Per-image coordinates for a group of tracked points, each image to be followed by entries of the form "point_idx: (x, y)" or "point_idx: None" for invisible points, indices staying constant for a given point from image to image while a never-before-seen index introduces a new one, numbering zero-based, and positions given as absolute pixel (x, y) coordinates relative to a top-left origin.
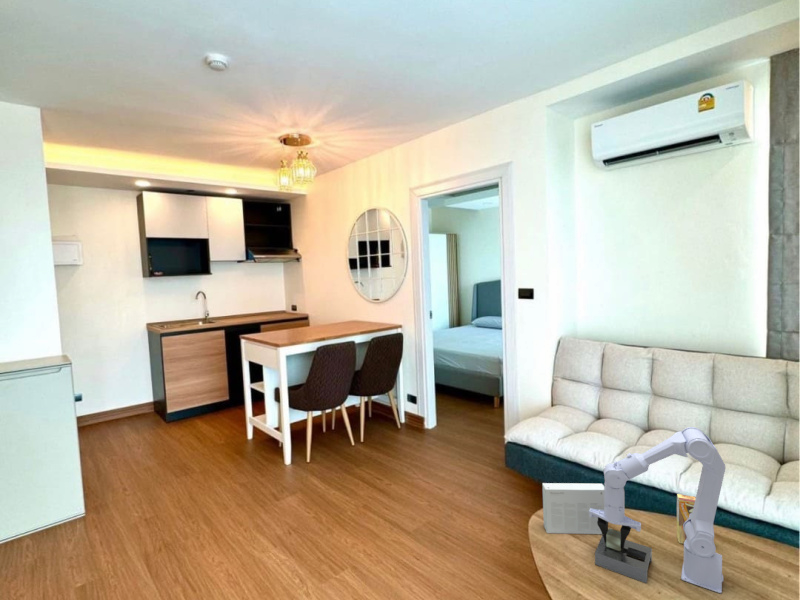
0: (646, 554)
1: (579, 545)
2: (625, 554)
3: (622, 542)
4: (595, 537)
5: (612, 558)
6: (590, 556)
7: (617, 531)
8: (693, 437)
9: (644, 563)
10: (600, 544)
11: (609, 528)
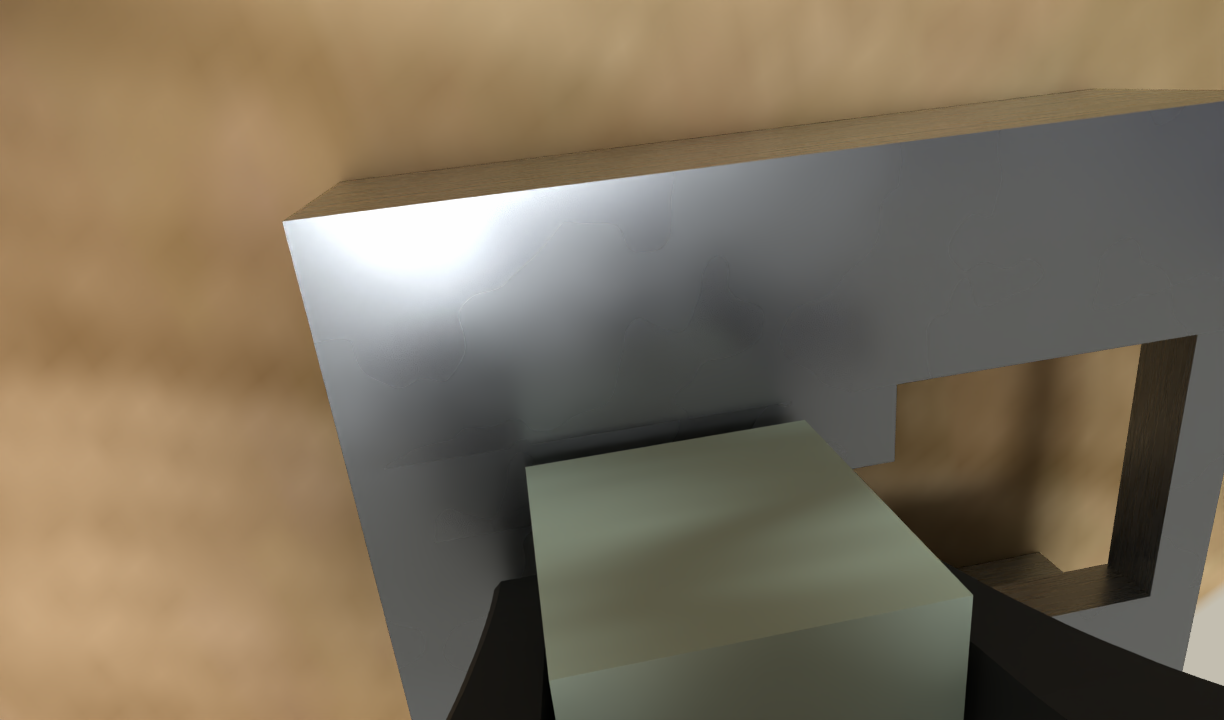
0: (1193, 382)
1: (53, 506)
2: None
3: None
4: (110, 59)
5: None
6: (336, 621)
7: (826, 663)
8: None
9: (1151, 621)
10: (437, 672)
11: (570, 687)
